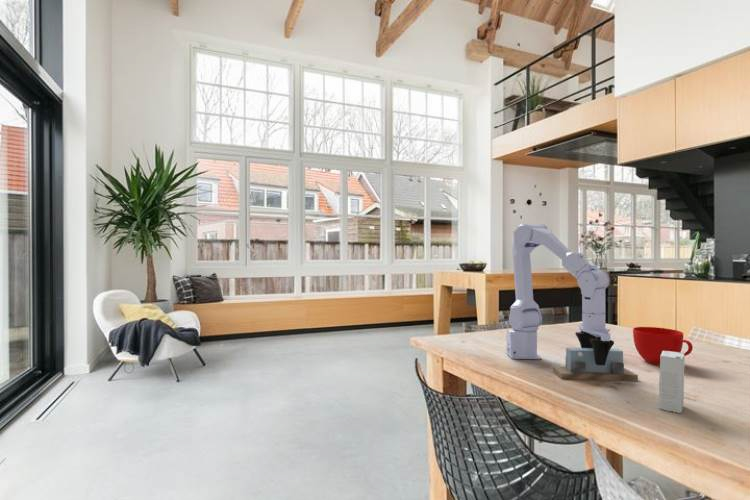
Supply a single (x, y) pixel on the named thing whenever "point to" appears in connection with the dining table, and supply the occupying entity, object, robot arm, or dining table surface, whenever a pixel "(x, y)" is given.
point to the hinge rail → (595, 373)
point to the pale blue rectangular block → (592, 359)
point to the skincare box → (671, 381)
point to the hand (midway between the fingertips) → (593, 361)
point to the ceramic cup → (658, 342)
